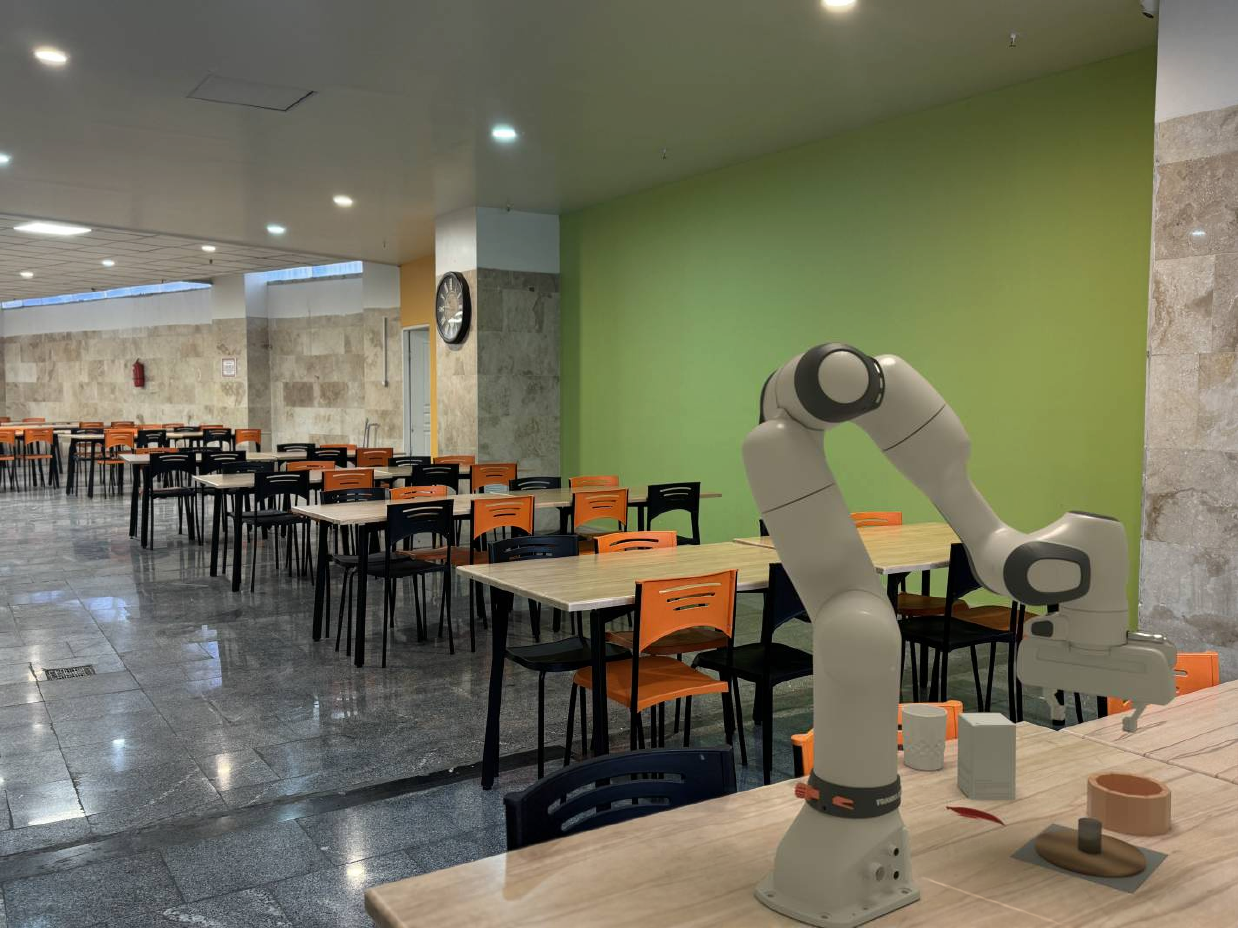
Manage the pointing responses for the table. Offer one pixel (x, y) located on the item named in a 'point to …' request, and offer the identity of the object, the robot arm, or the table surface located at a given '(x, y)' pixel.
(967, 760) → the supplement box
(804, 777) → the table surface
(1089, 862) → the lid
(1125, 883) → the mat
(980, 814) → the red feather
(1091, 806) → the bowl
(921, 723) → the white cup
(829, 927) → the robot arm
